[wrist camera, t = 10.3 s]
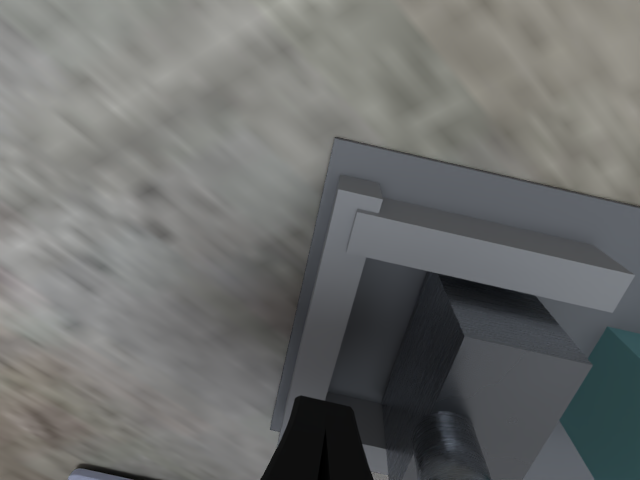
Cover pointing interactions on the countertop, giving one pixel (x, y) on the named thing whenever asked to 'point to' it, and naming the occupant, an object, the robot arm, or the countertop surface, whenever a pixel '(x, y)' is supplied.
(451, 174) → the base
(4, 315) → the countertop surface
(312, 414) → the robot arm
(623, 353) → the block
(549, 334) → the block
